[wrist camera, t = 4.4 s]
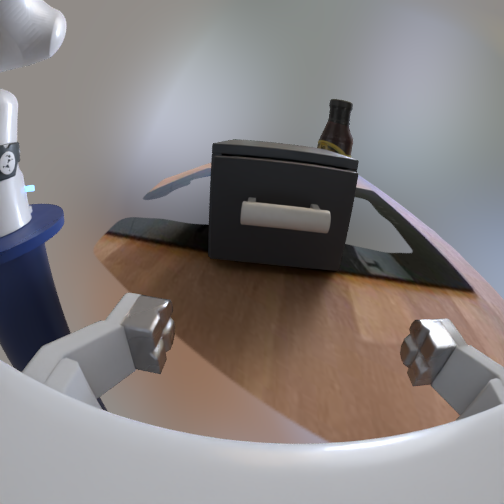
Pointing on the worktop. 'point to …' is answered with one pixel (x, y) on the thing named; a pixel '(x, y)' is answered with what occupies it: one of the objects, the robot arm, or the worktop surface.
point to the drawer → (280, 211)
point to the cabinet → (278, 152)
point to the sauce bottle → (338, 129)
